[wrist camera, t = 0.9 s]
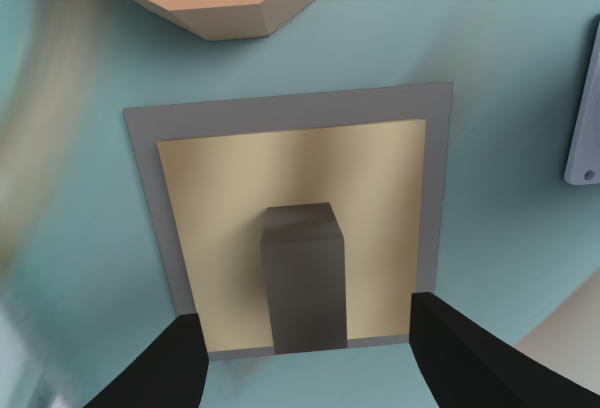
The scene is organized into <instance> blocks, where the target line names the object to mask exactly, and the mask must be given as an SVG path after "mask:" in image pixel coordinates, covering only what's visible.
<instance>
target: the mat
mask: <svg viewBox="0 0 600 408" xmlns="http://www.w3.org/2000/svg"><path fill="white" fill-rule="evenodd" d="M452 88H453V82H445V83H433V84H421V85H408V86H396V87H383V88H371V89H359V90H346V91H334V92H322V93H309V94H297V95H285V96H272V97H260V98H247V99H235V100H223V101H210V102H198V103H186V104H173V105H161V106H148V107H136V108H124V109H123V111H124V115H125V119H126V123H127V127H128V130H129V134H130V138H131V142H132V146H133V149H134V153H135V157H136V161H137V165H138V168H139V172H140V176H141V180H142V184H143V187H144V191H145V195H146V199H147V202H148V206H149V210H150V214H151V218H152V221H153V225H154V229H155V233H156V237H157V240H158V244H159V248H160V252H161V256H162V259H163V263H164V267H165V271H166V275H167V278H168V282H169V286H170V290H171V294H172V297H173V301H174V305H175V309H176V312H177V316H179V315H183V314H194V313H197V311H196V307H195V303H194V298H193V294H192V290H191V286H190V281H189V277H188V273H187V269H186V264H185V260H184V256H183V252H182V247H181V243H180V239H179V235H178V230H177V226H176V222H175V218H174V213H173V209H172V205H171V201H170V196H169V192H168V188H167V184H166V179H165V175H164V171H163V167H162V163H161V158H160V154H159V150H158V146H157V142H158V141H161V140H166V139H178V138H190V137H202V136H214V135H226V134H239V133H251V132H263V131H275V130H287V129H299V128H311V127H324V126H336V125H348V124H360V123H372V122H384V121H396V120H409V119H425V120H426V129H425V145H424V161H423V176H422V192H421V208H420V223H419V239H418V255H417V270H416V286H415V293H420V292H431V293H432V294H434V289H435V278H436V267H437V256H438V245H439V233H440V222H441V211H442V200H443V189H444V178H445V166H446V155H447V144H448V133H449V122H450V110H451V99H452ZM399 343H409V334H400V335H389V336H378V337H367V338H356V339H347V348H356V347H367V346H378V345H388V344H399ZM343 349H345V348H343ZM332 350H334V349H332ZM321 351H323V350H321ZM310 352H312V351H310ZM207 353H208V357H209V361H214V360H225V359H236V358H247V357H258V356H269V355H275V353H274V346H268V347H258V348H247V349H236V350H225V351H214V352H207ZM299 353H301V352H299ZM288 354H290V353H288ZM278 355H280V354H278Z"/></svg>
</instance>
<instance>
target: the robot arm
mask: <svg viewBox="0 0 600 408" xmlns="http://www.w3.org/2000/svg"><path fill="white" fill-rule="evenodd" d="M586 172H587V175H586V176H585V174H586ZM584 176H585V177H584ZM564 180H565V182H567V183H569V184H572V185H586V184H597V183H600V21H599V25H598V30H597V34H596V38H595V43H594V47H593V52H592V56H591V60H590V65H589V69H588V73H587V78H586V82H585V87H584V91H583V95H582V100H581V104H580V109H579V113H578V117H577V122H576V126H575V130H574V135H573V139H572V144H571V148H570V152H569V157H568V161H567V166H566V170H565V174H564ZM409 343H410V346H411V349H412V351H413V354H414V357H415V359H416V362H417V364H418V367H419V369H420V372H421V374H422V375H423V377H424V379H425V381H426V383H427V385H428V387H429V389H430V391H431V393H432V395H433V397H434V399H435V400H436V402H437V404H438V406H439V408H600V395H598V394H596V393H594V392H592V391H589V390H588V389H586V388H584V387H582V386H580V385H578V384H576V383H574V382H573V381H571V380H569V379H567V378H565V377H563V376H561V375H560V374H558V373H556V372H554V371H552V370H550V369H548V368H547V367H545V366H543V365H541V364H539V363H538V362H536V361H534V360H533V359H531V358H529V357H528V356H526V355H524V354H523V353H521V352H520V351H518V350H516V349H515V348H513V347H511V346H510V345H508V344H506V343H505V342H503V341H502V340H500V339H499V338H497V337H495V336H494V335H492V334H491V333H489V332H488V331H486V330H485V329H483V328H482V327H480V326H479V325H477V324H476V323H474V322H473V321H471V320H470V319H469V318H467V317H466V316H464V315H463V314H461V313H460V312H458V311H457V310H456V309H454V308H453V307H451V306H450V305H448V304H447V303H446V302H444V301H443V300H441V299H440V298H438V297H437V296H435V295H434V294H432V293H431V292H420V293H411V310H410V327H409ZM208 364H209V357H208V353H207V348H206V344H205V340H204V336H203V331H202V327H201V323H200V318H199V314H198V313H194V314H183V315H179V316H178V317H177V318H176V319H175V320H174V321H173V322H172V323H171V324H170V325H169V326H168V327H167V328H166V329H165V330H164V331H163V332H162V333H161V334H160V335H159V336H158V337H157V338H156V339H155V340H154V341H153V342H152V343H151V344H150V345H149V346H148V347H147V348H146V349H145V350H144V351H143V352H142V353H141V354H140V355H139V356H138V357H137V358H136V359H135V360H134V361H133V362H132V363H131V364H130V365H129V366H128V367H127V368H126V369H125V370H124V371H123V372H122V373H121V374H119V375H118V376H117V377H116V378H115V379H114V380H113V381H112V382H111V383H110V384H109V385H108V386H106V387H105V388H104V389H103V390H102V391H101V392H100V393H99V394H98V395H97V396H96V397H94V398H93V399H92V400H91V401H90V402H89V403H88V404H86V405H85V406H84V407H83V408H199V404H200V401H201V398H202V394H203V390H204V385H205V380H206V375H207V370H208Z"/></svg>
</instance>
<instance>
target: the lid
mask: <svg viewBox="0 0 600 408" xmlns="http://www.w3.org/2000/svg"><path fill="white" fill-rule="evenodd" d="M425 129H426V120H425V119H409V120H396V121H384V122H372V123H360V124H348V125H336V126H324V127H311V128H299V129H287V130H275V131H263V132H251V133H239V134H226V135H214V136H202V137H190V138H178V139H166V140H161V141H158V142H157V146H158V150H159V154H160V158H161V163H162V167H163V171H164V175H165V179H166V184H167V188H168V192H169V196H170V201H171V205H172V209H173V213H174V218H175V222H176V226H177V230H178V235H179V239H180V243H181V247H182V252H183V256H184V260H185V264H186V269H187V273H188V277H189V281H190V286H191V290H192V294H193V298H194V303H195V307H196V311H197V313H198V314H199V318H200V323H201V327H202V331H203V336H204V340H205V344H206V348H207V352H214V351H225V350H236V349H247V348H258V347H268V346H274V353H275V355H278V354H288V353H299V352H310V351H321V350H332V349H343V348H347V339H356V338H367V337H378V336H389V335H400V334H409V327H410V310H411V293H415V286H416V270H417V255H418V239H419V223H420V208H421V192H422V176H423V161H424V145H425Z"/></svg>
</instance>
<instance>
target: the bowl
mask: <svg viewBox="0 0 600 408" xmlns="http://www.w3.org/2000/svg"><path fill="white" fill-rule="evenodd" d="M134 1H135V2H137V3H138V4H140V5H141V6H143V7H144V8H146V9H147V10H149V11H151V12H153V13H155V14H157V15H159V16H161V17H163V18H165V19H167V20H169V21H171V22H172V23H174V24H176V25H178V26H180V27H182V28H184V29H186V30H188V31H190V32H192V33H194V34H196V35H198V36H200V37H201V38H203V39H205V40H207V41H214V40H227V39H240V38H253V37H265V36H270V35H271V34H273V33H274V32H275V31H276V30H278V29H279V28H280V27H281V26H283V25H284V24H285V23H287V22H288V21H289V20H290V19H292V18H293V17H294V16H295V15H297V14H298V13H299V12H301V11H302V10H303V9H304V8H306V7H307V6H308V5H310V4H311V3H312V2H313V1H315V0H134Z"/></svg>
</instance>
